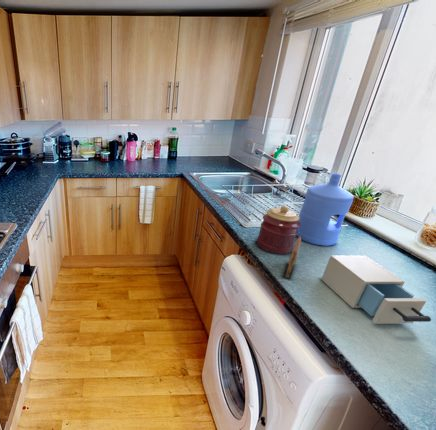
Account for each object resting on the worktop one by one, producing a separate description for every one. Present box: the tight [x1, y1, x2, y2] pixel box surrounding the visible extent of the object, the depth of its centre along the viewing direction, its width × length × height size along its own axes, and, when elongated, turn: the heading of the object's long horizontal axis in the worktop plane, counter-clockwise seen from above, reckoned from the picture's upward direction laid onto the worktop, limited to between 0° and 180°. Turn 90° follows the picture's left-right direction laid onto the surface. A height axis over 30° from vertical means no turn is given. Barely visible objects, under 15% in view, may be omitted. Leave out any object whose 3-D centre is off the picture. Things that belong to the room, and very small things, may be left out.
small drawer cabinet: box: [321, 254, 405, 309], centre depth 89 cm, size 14×12×10 cm
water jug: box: [296, 173, 355, 247], centre depth 118 cm, size 16×16×28 cm
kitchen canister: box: [256, 205, 300, 255], centre depth 112 cm, size 13×13×18 cm
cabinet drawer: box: [357, 284, 432, 325], centre depth 80 cm, size 17×10×8 cm, turn 1°
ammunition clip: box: [283, 236, 302, 280], centre depth 98 cm, size 11×2×12 cm, turn 143°
